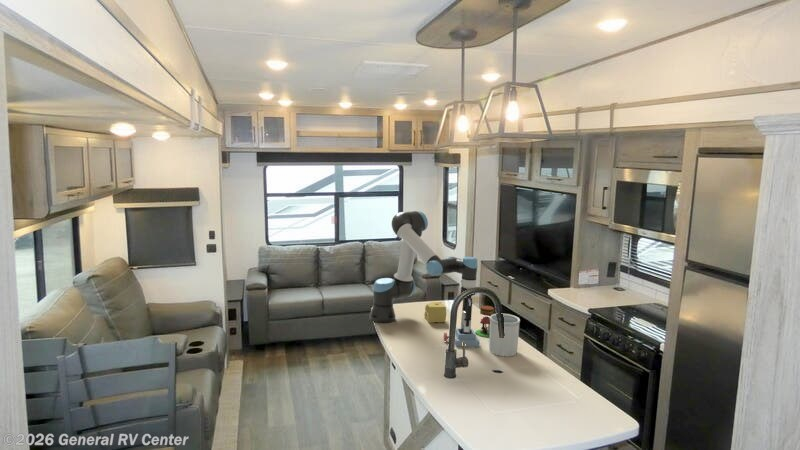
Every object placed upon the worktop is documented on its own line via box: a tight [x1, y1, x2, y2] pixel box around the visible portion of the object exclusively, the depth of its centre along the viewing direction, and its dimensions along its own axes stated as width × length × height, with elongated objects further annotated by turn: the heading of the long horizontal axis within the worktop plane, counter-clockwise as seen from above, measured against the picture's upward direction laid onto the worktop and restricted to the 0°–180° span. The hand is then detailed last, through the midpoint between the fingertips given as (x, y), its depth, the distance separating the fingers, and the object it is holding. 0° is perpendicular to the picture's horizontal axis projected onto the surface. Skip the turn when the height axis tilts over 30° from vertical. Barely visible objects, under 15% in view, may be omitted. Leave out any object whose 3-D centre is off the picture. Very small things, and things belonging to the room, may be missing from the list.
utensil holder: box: [488, 313, 521, 358], centre depth 246 cm, size 15×15×18 cm
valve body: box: [443, 327, 480, 348], centre depth 258 cm, size 14×17×6 cm
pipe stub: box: [460, 310, 473, 334], centre depth 257 cm, size 5×5×12 cm
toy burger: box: [475, 305, 495, 338], centre depth 270 cm, size 12×13×15 cm
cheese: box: [423, 301, 447, 324], centre depth 290 cm, size 10×11×10 cm
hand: (465, 329), depth 257 cm, fingers closed on pipe stub, 5 cm apart
